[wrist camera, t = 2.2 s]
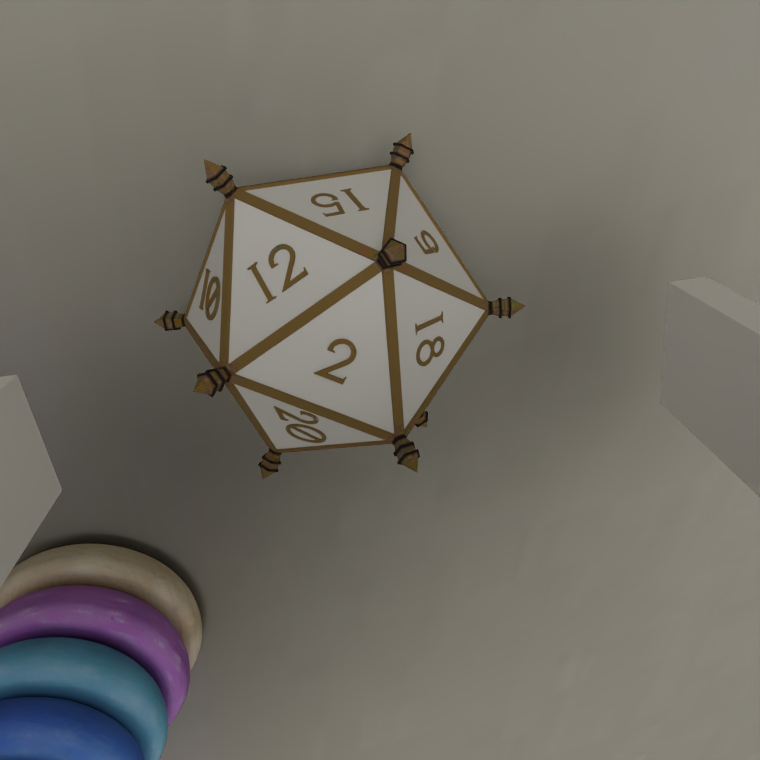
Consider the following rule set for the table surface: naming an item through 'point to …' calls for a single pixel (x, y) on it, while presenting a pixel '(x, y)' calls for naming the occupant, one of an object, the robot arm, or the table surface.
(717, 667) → the table surface
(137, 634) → the stacking toy
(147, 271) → the table surface
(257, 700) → the table surface
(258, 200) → the game die
